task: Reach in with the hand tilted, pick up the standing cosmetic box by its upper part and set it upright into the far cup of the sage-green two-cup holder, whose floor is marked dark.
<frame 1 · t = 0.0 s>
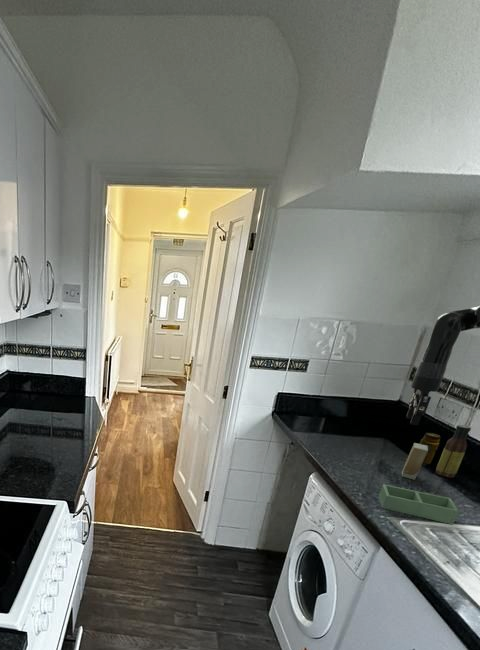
hand: (411, 421, 145), 22 cm above the counter, tool pointing down, fingers open, 8 cm apart
holder: (413, 509, 132), on the counter
cosmetic box: (408, 476, 158), on the counter
sauce bottle: (443, 475, 161), on the counter
condiment: (419, 462, 172), on the counter
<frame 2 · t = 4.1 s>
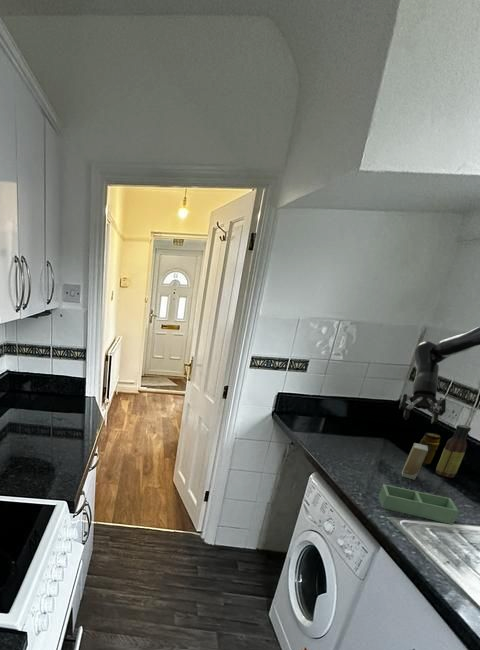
hand: (420, 420, 159), 19 cm above the counter, tool tilted 45°, fingers open, 8 cm apart
nothing on the counter moved.
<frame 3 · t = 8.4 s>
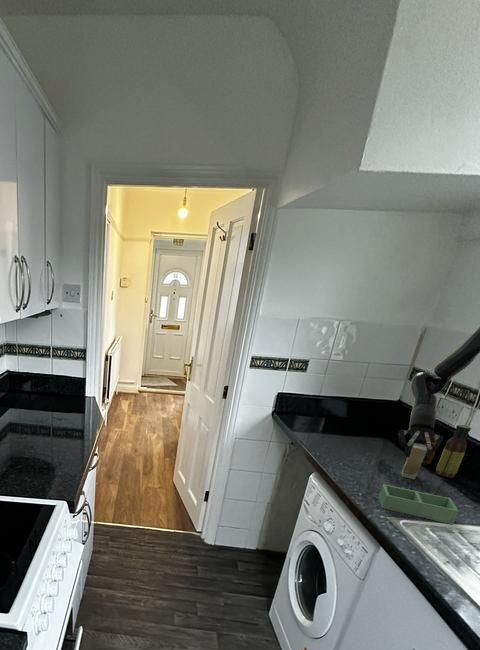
hand: (416, 457, 153), 8 cm above the counter, tool tilted 45°, fingers closed on cosmetic box, 4 cm apart
cosmetic box: (408, 476, 158), on the counter, touching gripper
everything else where it was.
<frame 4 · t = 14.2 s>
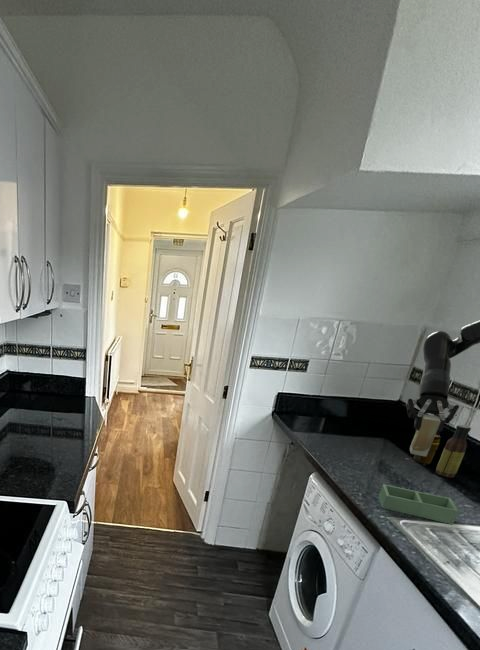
hand: (428, 430, 131), 24 cm above the counter, tool tilted 45°, fingers closed on cosmetic box, 4 cm apart
cosmetic box: (417, 453, 136), point 15 cm above the counter, touching gripper
everything else where it was.
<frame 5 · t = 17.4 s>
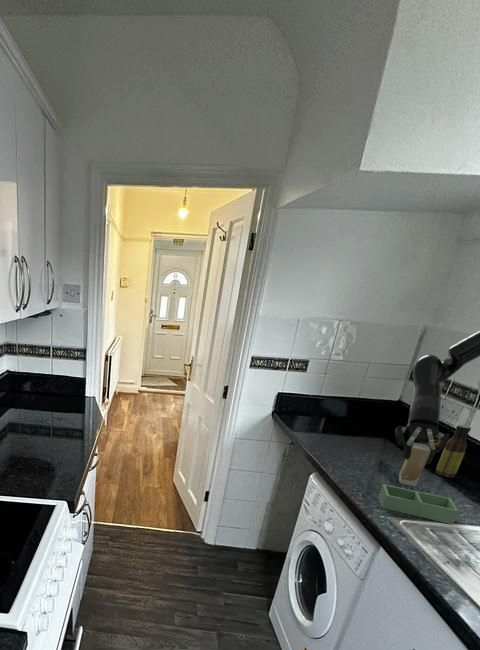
hand: (417, 459, 126), 17 cm above the counter, tool tilted 45°, fingers closed on cosmetic box, 4 cm apart
cosmetic box: (406, 482, 131), point 9 cm above the counter, touching gripper
everything else where it was.
when the fingers open (9 cm above the counter, at t = 20.0 s): cosmetic box stays where it is, resting on holder.
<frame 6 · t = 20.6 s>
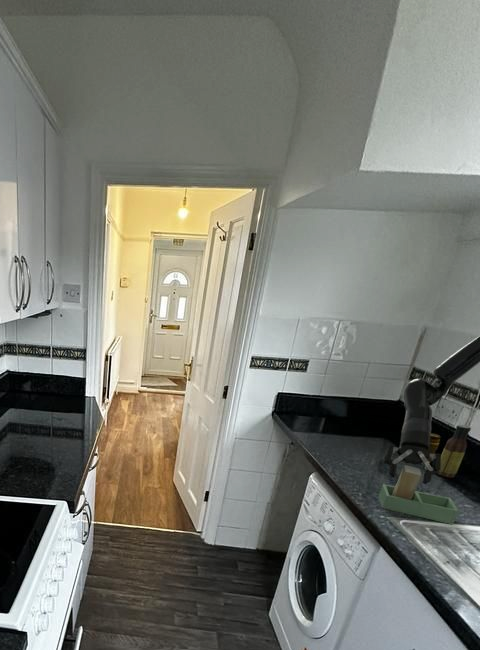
hand: (409, 479, 129), 10 cm above the counter, tool tilted 45°, fingers open, 8 cm apart
cosmetic box: (398, 503, 134), point 1 cm above the counter, touching holder
everything else where it was.
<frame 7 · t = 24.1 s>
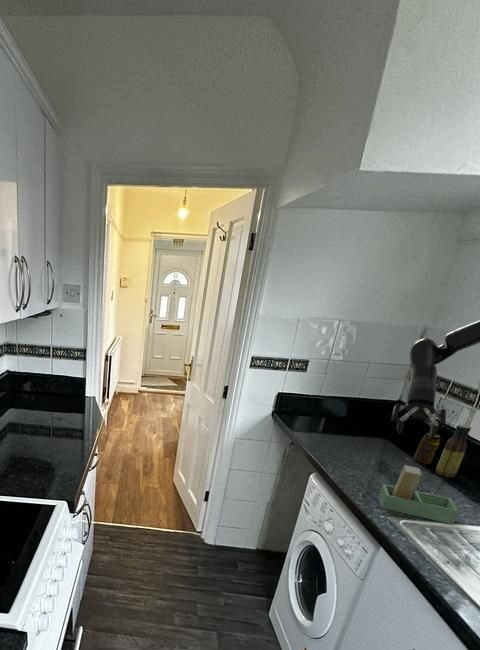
hand: (415, 435, 135), 21 cm above the counter, tool tilted 45°, fingers open, 8 cm apart
nothing on the counter moved.
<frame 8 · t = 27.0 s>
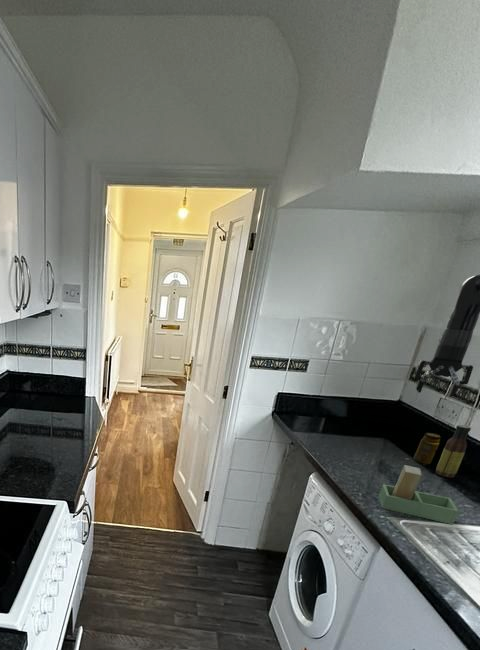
hand: (434, 394, 138), 33 cm above the counter, tool pointing down, fingers open, 8 cm apart
nothing on the counter moved.
at the end: cosmetic box 0.2 cm from the target spot in the holder, point 0.7 cm above the holder's base; cosmetic box tilted 0° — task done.
